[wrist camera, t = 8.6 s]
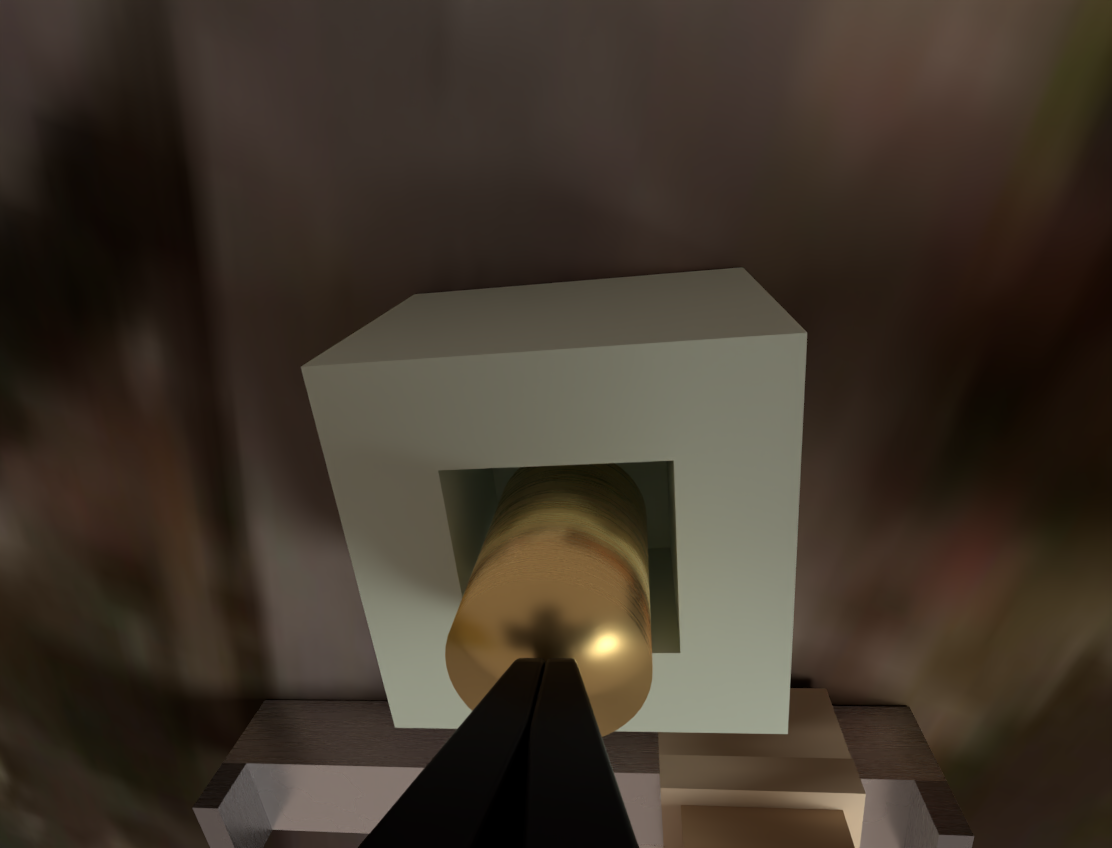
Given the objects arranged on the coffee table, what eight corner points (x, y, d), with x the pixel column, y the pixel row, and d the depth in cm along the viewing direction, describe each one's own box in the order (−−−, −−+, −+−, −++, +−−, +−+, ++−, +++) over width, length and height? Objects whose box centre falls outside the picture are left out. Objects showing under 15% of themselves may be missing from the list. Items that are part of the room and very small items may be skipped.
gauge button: (642, 446, 12) (647, 579, 8) (649, 576, 13) (657, 746, 10) (490, 453, 13) (428, 583, 9) (509, 579, 14) (462, 742, 10)
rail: (909, 706, 19) (974, 836, 16) (899, 777, 20) (957, 914, 17) (265, 700, 22) (192, 807, 19) (287, 762, 23) (223, 875, 20)
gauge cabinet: (742, 267, 15) (807, 332, 9) (740, 562, 18) (787, 741, 12) (414, 294, 16) (300, 366, 11) (464, 568, 19) (396, 734, 14)
